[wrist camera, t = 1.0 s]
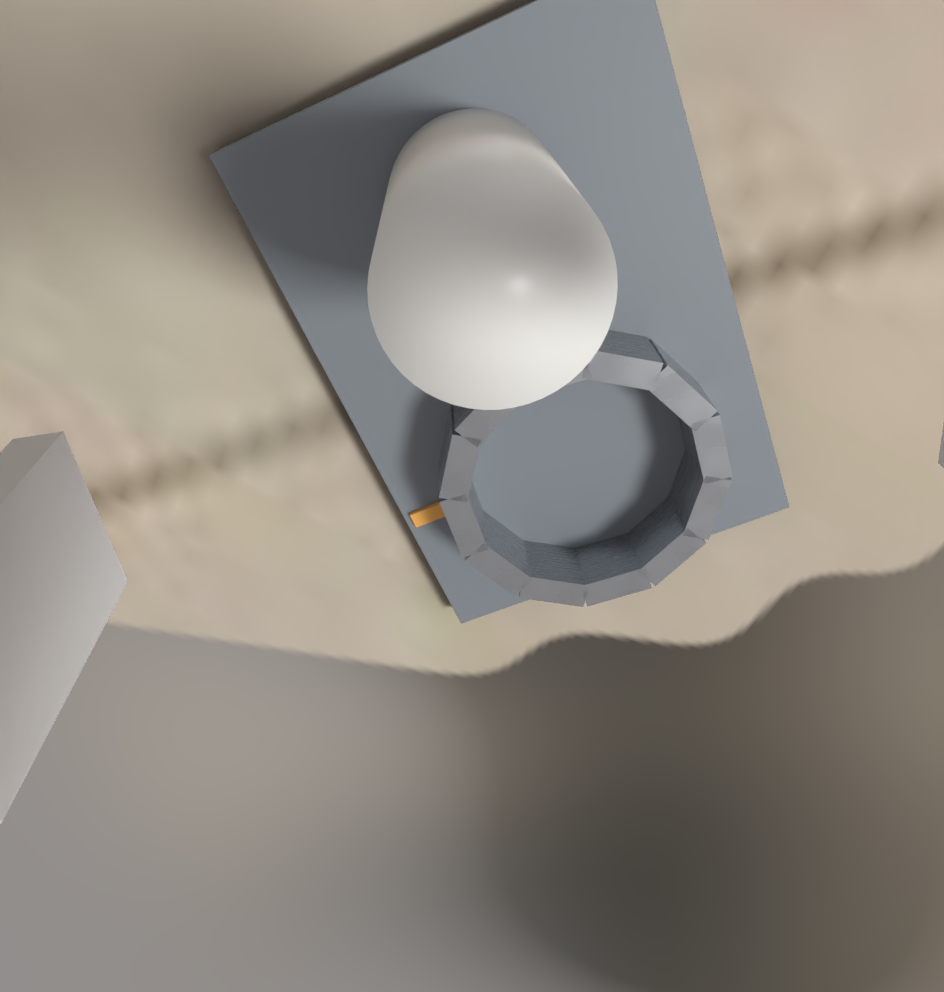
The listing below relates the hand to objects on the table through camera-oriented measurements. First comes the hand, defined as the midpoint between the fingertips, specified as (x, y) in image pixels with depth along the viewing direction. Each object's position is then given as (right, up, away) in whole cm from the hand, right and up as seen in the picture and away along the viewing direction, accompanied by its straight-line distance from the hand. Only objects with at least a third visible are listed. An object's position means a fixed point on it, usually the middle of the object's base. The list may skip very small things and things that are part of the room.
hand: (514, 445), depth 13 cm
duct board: (+1, +5, +18) cm, 19 cm away
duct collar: (+3, +1, +19) cm, 20 cm away
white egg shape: (-1, +9, +15) cm, 17 cm away
